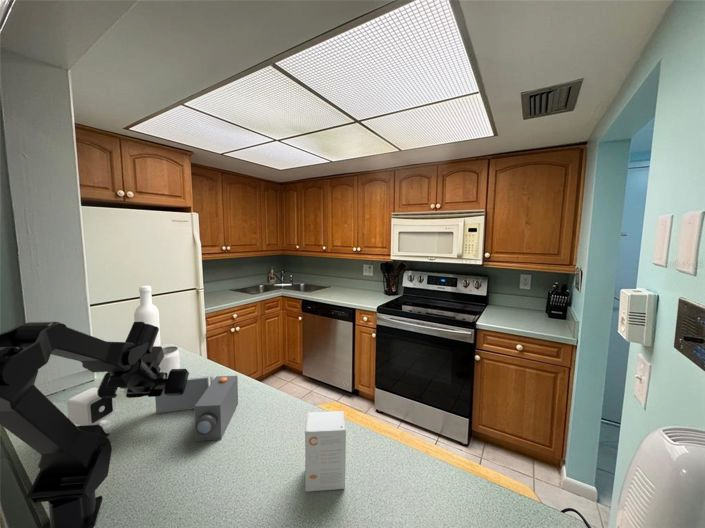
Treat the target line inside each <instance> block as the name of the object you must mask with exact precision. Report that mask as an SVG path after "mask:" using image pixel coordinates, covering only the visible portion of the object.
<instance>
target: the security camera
mask: <svg viewBox="0 0 705 528" xmlns="http://www.w3.org/2000/svg"><path fill="white" fill-rule="evenodd" d="M98 388H99V387H91V388H89V389H87V390H85V391H83V392H80V393H79V394H77V395H74V396H72V397H70V398H69V399H68V400H67V403H66V406H67V418H68V419H69V420H70V421H71V422H73V423H74V424H75V425H78V426H85V425H100V426H102V428H103V430H104V431H105V429H107V428H109V427H110V426H111V425H110V424H111V423H110V420H108V419H107V418H108V417H110V416H112V415H114V413H115V412H116V402H115V400H116V399H115V398H116V397H115V398H100V397H99V396H98V395H97V390H98ZM106 419H107V420H106Z"/></svg>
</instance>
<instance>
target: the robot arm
mask: <svg viewBox="0 0 705 528" xmlns="http://www.w3.org/2000/svg"><path fill="white" fill-rule="evenodd" d="M158 331H159V328H158V327H156V326H153V325H150V324H145V323H144V322H133V323H132V325H131V328H130V330H129V332H128V335H127V337H126V339H125V341H107V340H104V339H101V338H98V337H95V336H93V335H89V334H88V333H85V332H81V331H79V330H76V329H74V328H71V327H68V326H67V325H66V324H65V323H61V322H60V321H59V322H58V321H30V322H29V321H28V322H24V323H22V324H19V325H17V326H15V327H13V328H11V329H9V330H7V331H4V332H0V425H1V426H2V427H3V428H4V429H6V430H7V431H8V432H10V433H11V434H13V435H14V436H15V437H17V438H18V439H20V440H21V441H22V442H23V443H25V444H26V445H28V447H30V448H32V450H34V451H36V453H38V454H40V459H39V462H38V464H37V466H38V469H39V471H38V473H37V476H36V478H35V479H34V481H33V483H32V485H31V488H30V490H29V492H28V494H27V496H26V499H27V501H29V503H30V504H32V505H33V504H37V503H43V502H48V512H49V525H48V528H94V527H95V526H96V523H97V519H98V517H99V513H100V510H101V506H102V502H103V499H104V497H103V495H100V496H96V490H97V489H98V488H99V487H100V485H101V484H103V482H104V480H106V479H107V477H108V476H109V471H110V463H111V457H112V451H113V448H112V442H111V440H110V439H109V436H110V434H111V433H108V432H106V431H105V429H104V430H103V428H102V426H100V425H85V426H83V425H81V426H80V425H77V424H74V423H73V422H71V421H70V420H69V418H68V416H66V415H65V413H63V411H61V410H60V409H59V408H58V407H57V406H56V405H55V404H54V403H53V402H52V401H51V400H50V399H49V398H48V397H47V396H46V395H45V394H44V393H43V392H42V391H41V390H40V389H39V388H38V387H37V386H36V385H35V383H36V380H37V376H38V373H39V370H40V369H41V368H42V367H44V366H45V365H46V364H48V363H49V360H50V358H51V355H53V356H57V357H61V358H65V359H68V360H74V361H77V362H80V363H82V365H81V366H82V368H84V369H86V370H88V371H89V372H91V373H105V374H104V376H103V378H102V379H101V382H100V383H99V386H98V387H97V388H98V390H97V395H98V396H99V397H100V398H117V397H118V394H117V392H118V389H120V390H121V389H123V394H126V395H125V397H126V398H128V399H129V398H132V399H133V398H141V397H148V398H151V397H153V398H154V397H158V396H161V395H162V392H163V389H164V394H165V395H168V396H176V395H182V394H183V393H184V391H185V387H186V383H187V379H188V378H189V375H190V372H189V371H188V369H186V368H180V369H172V370H171V371H170V372H169V376H168V379H167V373H164V372H160V369H161V368H160V367H159V365H160V363H161V361H162V359H163V358H164V353H163V349H162V348H163V347H162V346H153V345H154V342H155V339H156V337H157V334H158Z"/></svg>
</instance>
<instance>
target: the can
mask: <svg viewBox="0 0 705 528" xmlns="http://www.w3.org/2000/svg"><path fill="white" fill-rule="evenodd" d="M178 348H179V347H178V346H174V345H173V346H166V347H162V349H163V353H164V358H163V359H162V361H161V363H160V365H159V367H160V368H161V369H160V372H164V373H167V379H168V376H169V372H170V371H171V370H172V369H181V361H180V351H179V349H178Z"/></svg>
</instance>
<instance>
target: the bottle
mask: <svg viewBox="0 0 705 528" xmlns="http://www.w3.org/2000/svg"><path fill="white" fill-rule="evenodd" d="M138 288H139V289H138V292H139V306H138V307H136V308H135V311H134V314H133V321H134V322H144V323H145V324H150V325H153V326H156V327H158V328H159V331H158V334H157V337H156V339H155V342H154V345H153V346H161V328H160V327H161V325H160V310H159V308H158V307H157V306H156V305H155V304H153V301H152V299H153V297H152V291H153V289H152V286H151V285H141V286H139V287H138ZM134 322H133V323H134ZM161 347H162V346H161Z"/></svg>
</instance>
